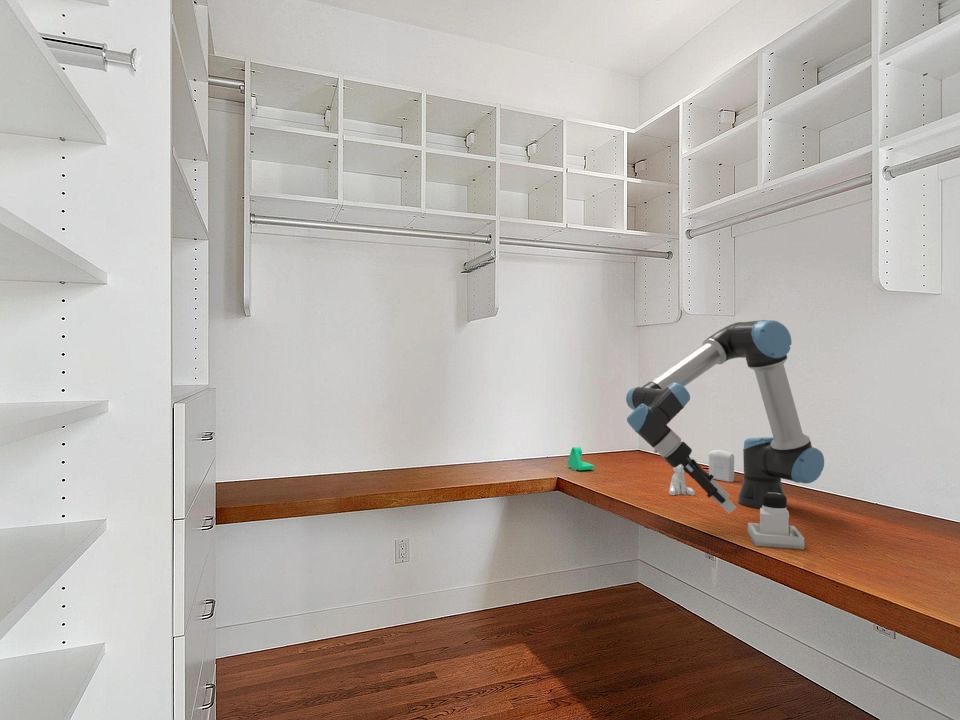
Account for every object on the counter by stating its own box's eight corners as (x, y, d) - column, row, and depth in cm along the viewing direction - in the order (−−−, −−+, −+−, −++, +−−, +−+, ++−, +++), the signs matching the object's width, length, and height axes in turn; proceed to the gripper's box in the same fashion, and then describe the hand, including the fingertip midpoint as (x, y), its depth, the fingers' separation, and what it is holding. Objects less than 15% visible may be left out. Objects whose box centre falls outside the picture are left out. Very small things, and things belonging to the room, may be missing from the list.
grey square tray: (747, 533, 171) (747, 522, 171) (793, 536, 167) (793, 525, 167) (754, 545, 159) (754, 534, 159) (804, 549, 156) (804, 538, 156)
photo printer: (735, 481, 243) (735, 451, 243) (730, 482, 240) (730, 452, 240) (712, 477, 251) (712, 448, 251) (707, 478, 248) (707, 449, 248)
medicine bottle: (789, 542, 158) (789, 497, 158) (760, 539, 161) (760, 495, 161) (788, 535, 165) (788, 492, 165) (760, 532, 168) (760, 490, 168)
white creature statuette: (670, 496, 217) (670, 463, 217) (662, 490, 226) (662, 459, 226) (695, 495, 217) (695, 463, 217) (686, 490, 226) (686, 459, 226)
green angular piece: (594, 471, 266) (594, 448, 265) (579, 472, 263) (579, 449, 263) (582, 466, 277) (582, 444, 277) (567, 467, 275) (567, 445, 275)
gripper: (662, 451, 184) (714, 502, 180) (664, 466, 160) (724, 525, 156) (680, 434, 182) (733, 485, 178) (685, 447, 158) (746, 506, 154)
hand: (729, 504), depth 167 cm, fingers open, 13 cm apart
